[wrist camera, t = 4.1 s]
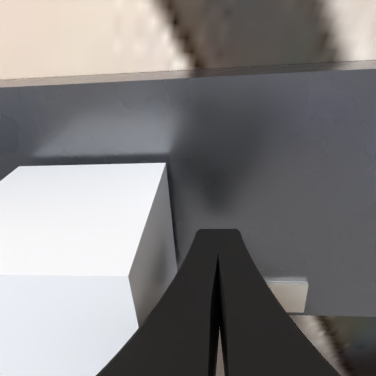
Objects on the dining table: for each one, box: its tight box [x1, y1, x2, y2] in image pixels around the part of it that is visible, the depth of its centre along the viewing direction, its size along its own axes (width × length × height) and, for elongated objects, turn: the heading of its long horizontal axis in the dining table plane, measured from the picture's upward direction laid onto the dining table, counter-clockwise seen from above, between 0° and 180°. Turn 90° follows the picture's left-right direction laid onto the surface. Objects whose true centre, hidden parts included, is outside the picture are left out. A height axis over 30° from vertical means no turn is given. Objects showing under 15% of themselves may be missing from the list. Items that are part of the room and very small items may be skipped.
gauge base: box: [0, 60, 376, 317], centre depth 10 cm, size 24×10×8 cm, turn 93°
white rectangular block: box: [0, 163, 177, 376], centre depth 10 cm, size 5×7×5 cm
